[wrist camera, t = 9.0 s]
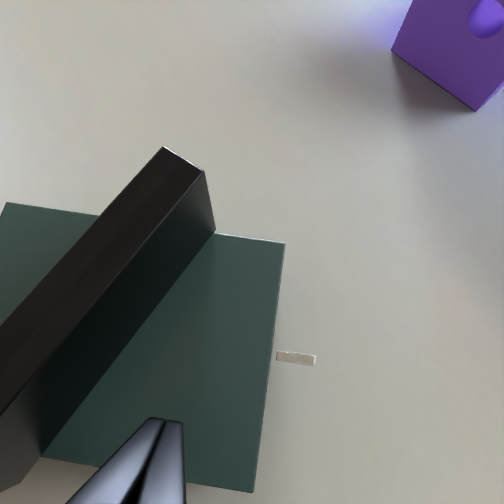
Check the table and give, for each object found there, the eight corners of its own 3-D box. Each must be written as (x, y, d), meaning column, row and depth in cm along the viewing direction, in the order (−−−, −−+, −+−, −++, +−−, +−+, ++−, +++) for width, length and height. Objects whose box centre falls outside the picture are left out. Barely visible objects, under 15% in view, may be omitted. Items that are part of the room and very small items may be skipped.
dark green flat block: (313, 220, 19) (330, 181, 15) (278, 557, 14) (291, 625, 10) (44, 181, 20) (-5, 133, 16) (-79, 494, 15) (-196, 537, 11)
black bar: (186, 209, 15) (161, 139, 10) (216, 229, 15) (204, 165, 10) (-14, 453, 12) (-171, 500, 7) (20, 483, 12) (-121, 551, 7)
